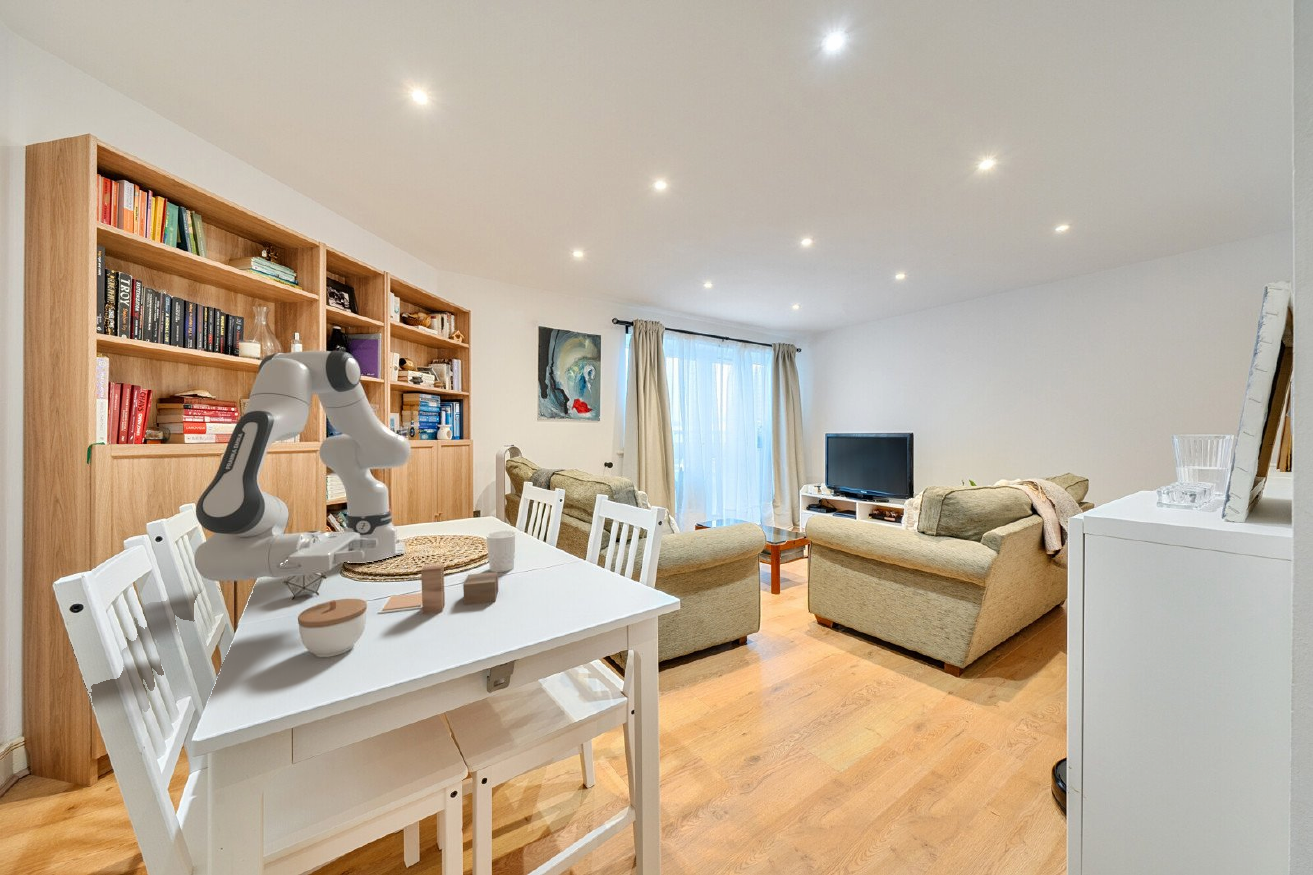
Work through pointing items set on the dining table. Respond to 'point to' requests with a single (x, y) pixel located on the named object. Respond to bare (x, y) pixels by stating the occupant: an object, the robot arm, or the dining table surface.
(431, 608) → the cherry post
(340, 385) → the robot arm
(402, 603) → the swatch tile
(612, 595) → the dining table surface
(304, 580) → the grey icosahedron model
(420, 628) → the dining table surface
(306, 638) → the lidded jar
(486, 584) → the walnut block
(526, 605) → the dining table surface
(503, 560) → the white cup
